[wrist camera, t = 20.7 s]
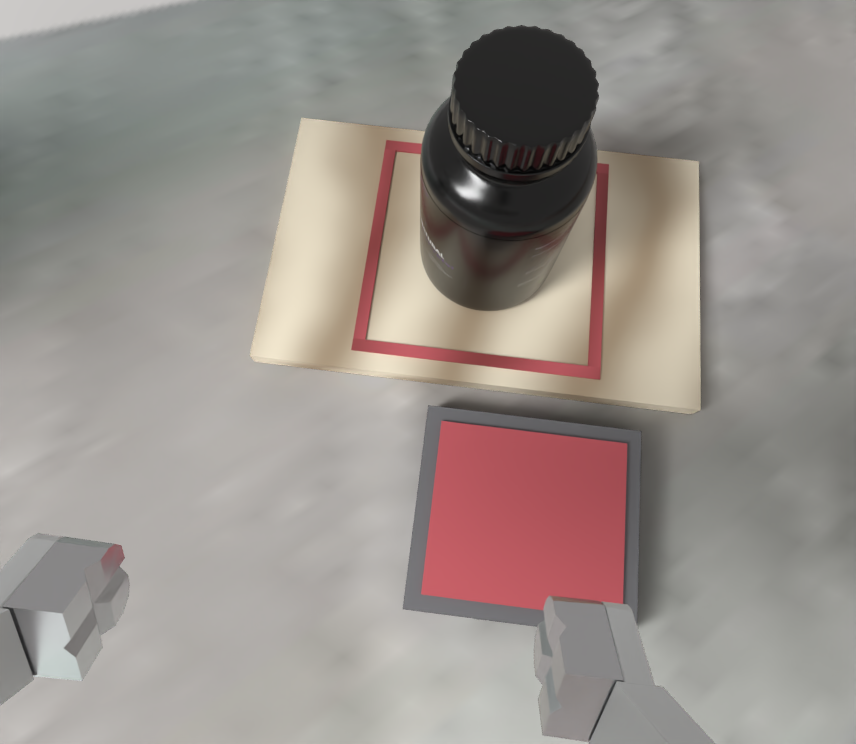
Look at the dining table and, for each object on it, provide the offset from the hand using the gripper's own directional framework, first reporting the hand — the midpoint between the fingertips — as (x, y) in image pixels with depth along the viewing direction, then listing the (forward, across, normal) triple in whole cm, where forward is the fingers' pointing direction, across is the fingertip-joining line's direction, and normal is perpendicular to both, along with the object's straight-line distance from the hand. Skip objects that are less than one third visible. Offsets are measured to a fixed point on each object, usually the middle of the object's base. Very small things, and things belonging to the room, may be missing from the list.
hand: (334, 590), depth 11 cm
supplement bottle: (+22, -4, 0) cm, 22 cm away
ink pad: (+13, -7, +10) cm, 18 cm away
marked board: (+23, -4, +1) cm, 23 cm away
